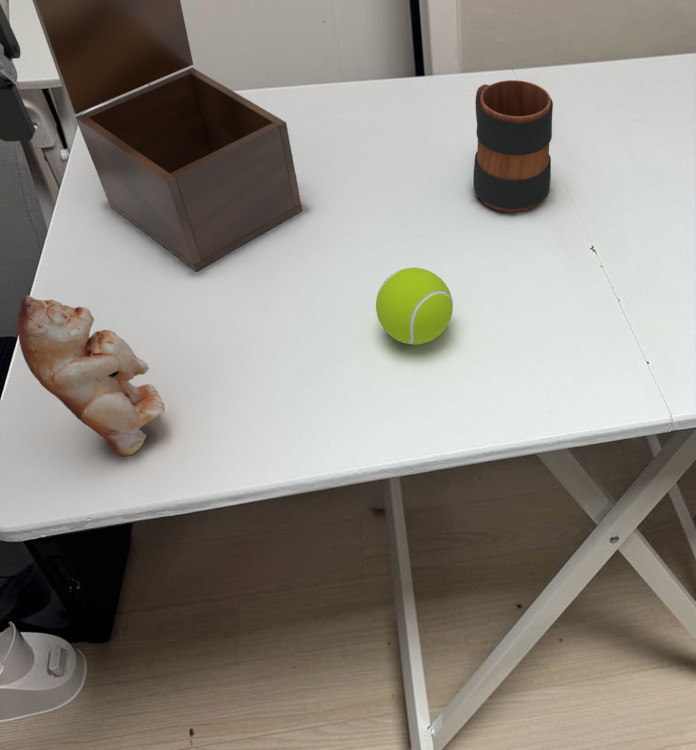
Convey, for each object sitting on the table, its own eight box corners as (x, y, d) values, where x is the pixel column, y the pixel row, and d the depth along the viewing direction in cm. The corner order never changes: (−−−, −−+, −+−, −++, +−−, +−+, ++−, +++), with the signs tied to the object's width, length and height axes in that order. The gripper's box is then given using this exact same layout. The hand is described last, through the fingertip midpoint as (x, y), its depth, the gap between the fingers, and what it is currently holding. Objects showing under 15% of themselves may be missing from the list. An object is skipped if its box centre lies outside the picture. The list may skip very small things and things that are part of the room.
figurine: (180, 441, 70) (125, 313, 59) (87, 479, 67) (10, 351, 56) (159, 393, 73) (103, 263, 62) (69, 427, 70) (-6, 297, 59)
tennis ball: (468, 333, 79) (468, 278, 74) (412, 371, 76) (408, 316, 70) (419, 297, 82) (416, 242, 77) (364, 331, 79) (356, 276, 74)
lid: (160, -99, 76) (126, -120, 78) (16, -57, 69) (-18, -81, 71) (193, 64, 89) (163, 43, 91) (75, 114, 82) (45, 90, 84)
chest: (302, 210, 91) (286, 122, 83) (196, 271, 84) (167, 181, 76) (215, 154, 98) (192, 67, 90) (110, 206, 91) (74, 116, 82)
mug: (509, 148, 100) (513, 56, 91) (563, 201, 93) (573, 107, 84) (446, 168, 97) (443, 74, 88) (497, 224, 90) (500, 129, 81)
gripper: (-163, -154, 44) (-28, 118, 56) (-301, -45, 35) (-103, 253, 47) (-16, -156, 45) (87, 113, 57) (-112, -49, 36) (35, 246, 48)
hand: (1, 176), depth 52 cm, fingers open, 8 cm apart
